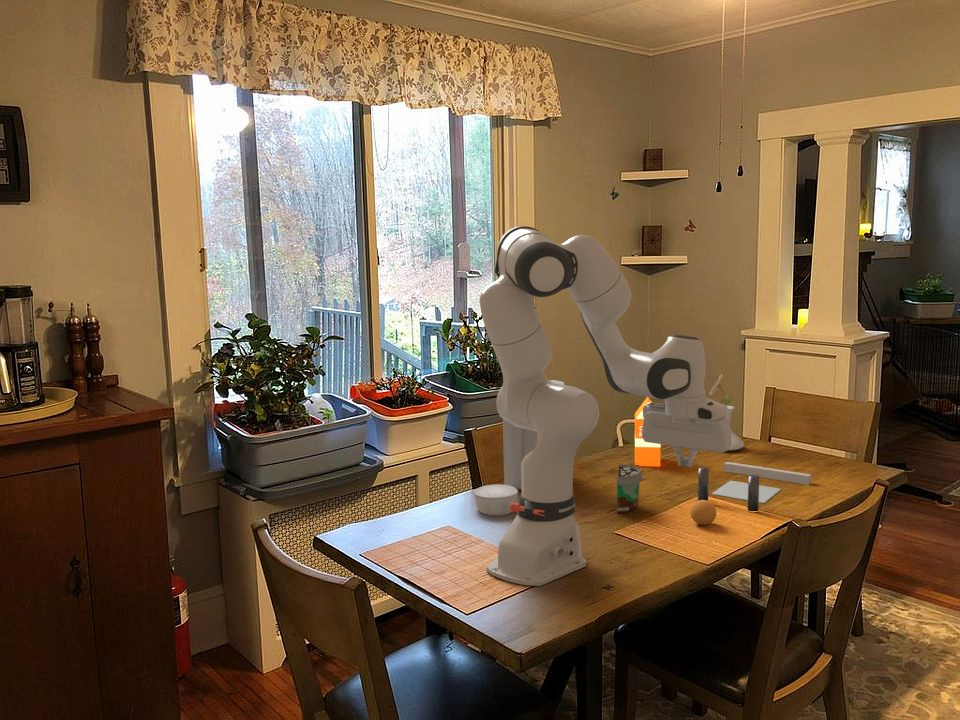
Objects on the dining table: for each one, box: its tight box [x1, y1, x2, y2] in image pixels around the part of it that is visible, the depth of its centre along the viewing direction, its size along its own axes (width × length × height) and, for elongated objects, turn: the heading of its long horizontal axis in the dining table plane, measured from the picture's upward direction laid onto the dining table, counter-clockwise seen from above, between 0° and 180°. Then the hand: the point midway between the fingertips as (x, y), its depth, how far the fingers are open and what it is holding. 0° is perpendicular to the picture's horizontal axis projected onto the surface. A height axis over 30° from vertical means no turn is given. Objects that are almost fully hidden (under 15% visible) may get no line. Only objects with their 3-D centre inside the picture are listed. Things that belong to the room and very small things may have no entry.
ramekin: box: [473, 484, 519, 516], centre depth 209 cm, size 11×11×5 cm
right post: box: [747, 475, 760, 512], centre depth 203 cm, size 3×3×9 cm
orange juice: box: [634, 397, 662, 467], centre depth 248 cm, size 8×9×20 cm
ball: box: [690, 500, 717, 526], centre depth 195 cm, size 6×6×6 cm
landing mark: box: [711, 480, 782, 504], centre depth 219 cm, size 14×14×1 cm
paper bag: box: [502, 379, 565, 490], centre depth 227 cm, size 19×15×28 cm
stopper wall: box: [723, 461, 812, 486], centre depth 231 cm, size 2×24×2 cm, turn 52°
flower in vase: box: [708, 373, 745, 451], centre depth 260 cm, size 13×11×25 cm
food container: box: [616, 463, 643, 515], centre depth 207 cm, size 12×6×10 cm, turn 168°
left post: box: [697, 466, 710, 501], centre depth 211 cm, size 3×3×9 cm
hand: (685, 465), depth 183 cm, fingers closed
